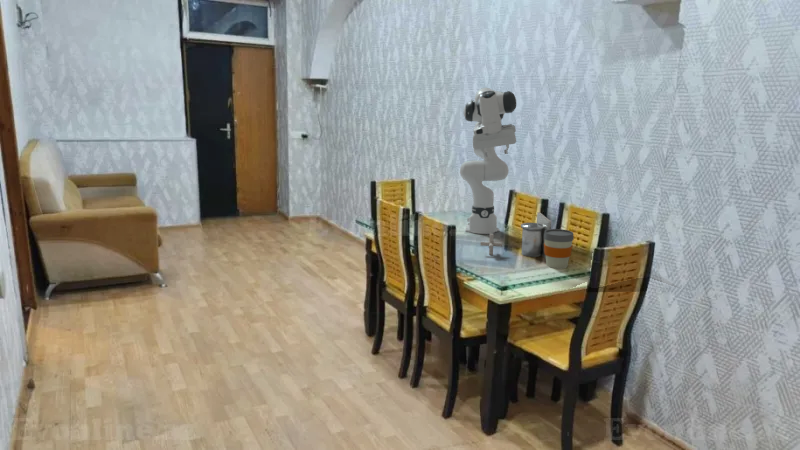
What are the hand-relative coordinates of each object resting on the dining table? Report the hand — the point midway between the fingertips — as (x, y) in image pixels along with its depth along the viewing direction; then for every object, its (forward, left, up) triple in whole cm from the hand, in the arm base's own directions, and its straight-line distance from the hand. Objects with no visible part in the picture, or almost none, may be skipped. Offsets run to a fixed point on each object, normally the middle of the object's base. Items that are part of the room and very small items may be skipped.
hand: (496, 155), depth 264 cm
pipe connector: (+13, -3, -46) cm, 47 cm away
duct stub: (+13, +16, -45) cm, 50 cm away
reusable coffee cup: (+31, +23, -46) cm, 60 cm away
